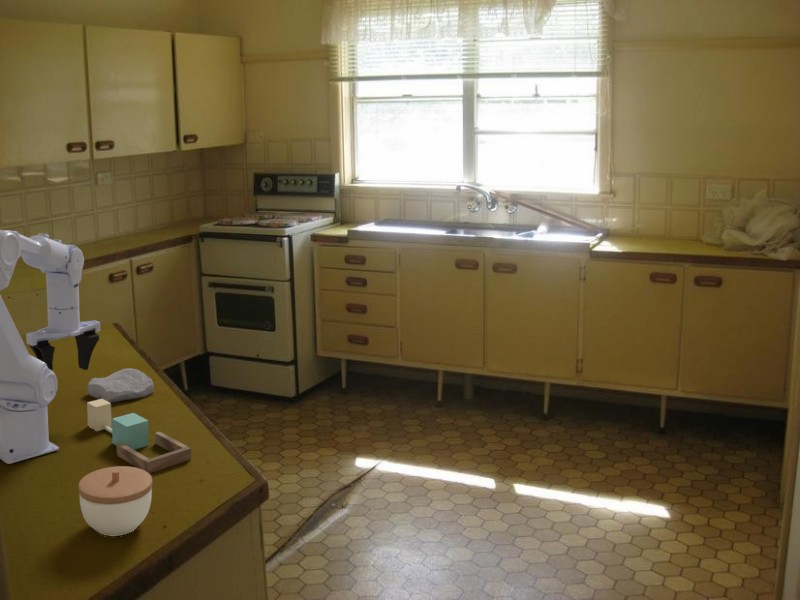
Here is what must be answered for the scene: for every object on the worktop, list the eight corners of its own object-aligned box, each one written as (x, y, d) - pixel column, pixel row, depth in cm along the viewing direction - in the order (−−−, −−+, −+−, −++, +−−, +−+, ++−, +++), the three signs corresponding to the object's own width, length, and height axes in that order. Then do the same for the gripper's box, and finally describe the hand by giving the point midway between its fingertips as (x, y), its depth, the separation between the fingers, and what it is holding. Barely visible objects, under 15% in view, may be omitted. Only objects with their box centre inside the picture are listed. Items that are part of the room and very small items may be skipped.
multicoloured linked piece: (148, 445, 163) (148, 420, 162) (127, 451, 160) (126, 426, 158) (105, 421, 173) (105, 397, 171) (84, 427, 169) (84, 403, 168)
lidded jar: (127, 503, 141) (126, 450, 139) (167, 527, 135) (166, 471, 132) (66, 526, 133) (63, 470, 131) (105, 553, 126) (104, 494, 124)
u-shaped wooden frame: (191, 459, 158) (191, 448, 158) (147, 473, 152) (147, 462, 151) (159, 442, 164) (159, 431, 164) (116, 455, 158) (116, 444, 157)
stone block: (158, 400, 190) (131, 380, 195) (160, 381, 188) (132, 362, 193) (111, 416, 181) (83, 395, 186) (112, 396, 179) (85, 375, 184)
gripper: (39, 316, 158) (42, 387, 161) (108, 303, 169) (110, 369, 173) (18, 308, 162) (22, 377, 166) (88, 296, 173) (90, 361, 177)
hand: (66, 373), depth 169 cm, fingers open, 7 cm apart
